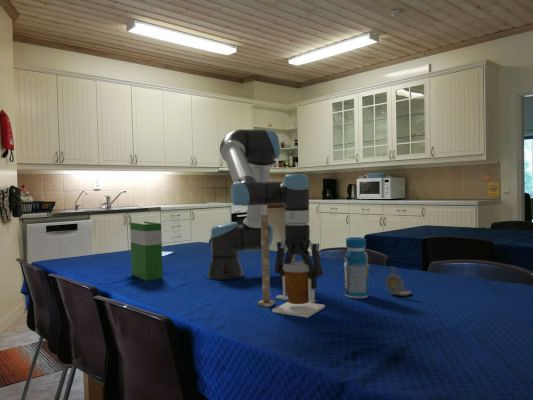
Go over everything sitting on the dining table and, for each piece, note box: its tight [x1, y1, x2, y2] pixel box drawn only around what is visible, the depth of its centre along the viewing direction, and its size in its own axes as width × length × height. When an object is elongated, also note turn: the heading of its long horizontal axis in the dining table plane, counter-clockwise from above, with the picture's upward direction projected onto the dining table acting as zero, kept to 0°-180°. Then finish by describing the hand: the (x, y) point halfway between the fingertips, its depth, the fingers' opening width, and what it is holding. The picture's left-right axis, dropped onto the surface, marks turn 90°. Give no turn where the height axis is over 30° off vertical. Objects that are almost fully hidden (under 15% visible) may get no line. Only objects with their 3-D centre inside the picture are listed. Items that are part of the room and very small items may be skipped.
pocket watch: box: [385, 266, 412, 297], centre depth 143 cm, size 8×8×10 cm
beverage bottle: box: [343, 236, 370, 299], centre depth 142 cm, size 8×8×20 cm
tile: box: [271, 301, 326, 318], centre depth 127 cm, size 12×12×1 cm
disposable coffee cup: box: [282, 260, 310, 304], centre depth 127 cm, size 10×10×12 cm
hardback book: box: [129, 221, 164, 282], centre depth 184 cm, size 18×7×24 cm, turn 38°
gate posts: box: [257, 215, 296, 308], centre depth 141 cm, size 4×22×29 cm, turn 148°
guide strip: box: [275, 294, 317, 303], centre depth 137 cm, size 14×4×1 cm, turn 58°
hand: (298, 297), depth 127 cm, fingers closed on disposable coffee cup, 8 cm apart
